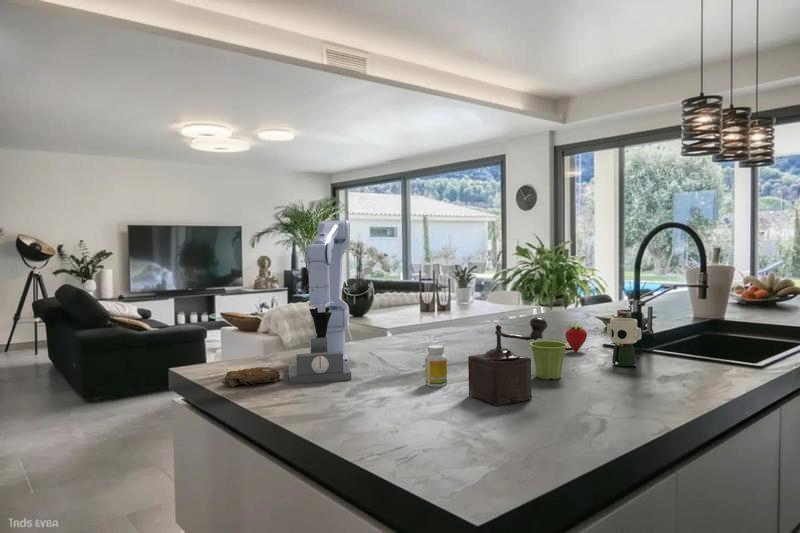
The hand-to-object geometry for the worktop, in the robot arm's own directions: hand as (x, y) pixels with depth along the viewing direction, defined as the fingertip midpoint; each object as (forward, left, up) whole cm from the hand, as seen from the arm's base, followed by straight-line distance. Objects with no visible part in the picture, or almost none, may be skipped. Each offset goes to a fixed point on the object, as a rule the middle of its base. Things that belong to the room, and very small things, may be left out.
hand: (320, 335), depth 152 cm
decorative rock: (+7, -19, -11) cm, 23 cm away
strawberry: (-4, +81, -11) cm, 82 cm away
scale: (+3, -1, -10) cm, 11 cm away
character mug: (+18, +83, -11) cm, 85 cm away
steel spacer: (+1, -1, -6) cm, 6 cm away
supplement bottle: (+23, +27, -11) cm, 37 cm away
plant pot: (+24, +57, -11) cm, 63 cm away
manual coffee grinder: (+38, +40, -11) cm, 56 cm away
